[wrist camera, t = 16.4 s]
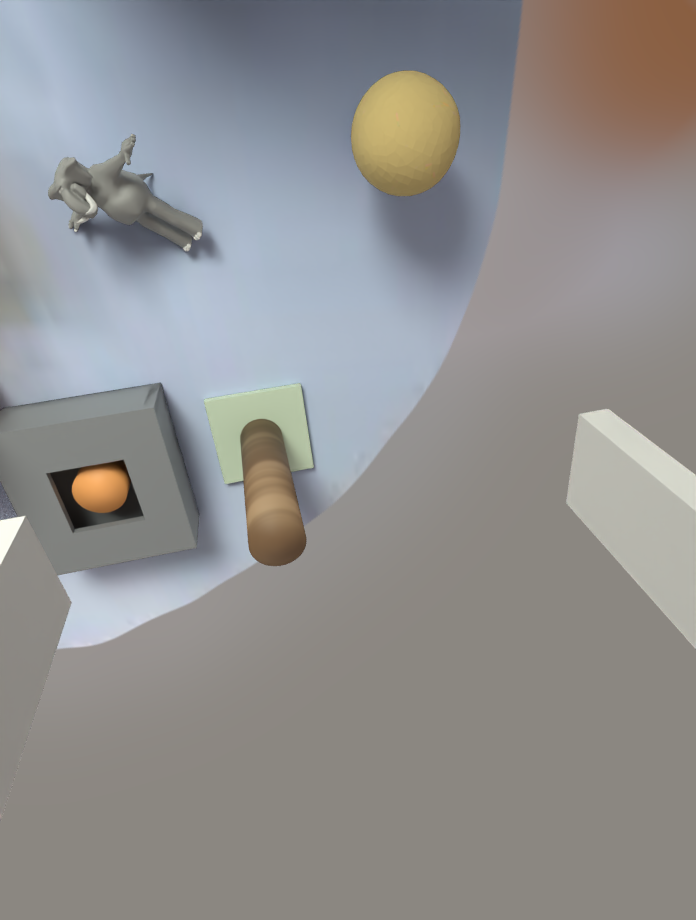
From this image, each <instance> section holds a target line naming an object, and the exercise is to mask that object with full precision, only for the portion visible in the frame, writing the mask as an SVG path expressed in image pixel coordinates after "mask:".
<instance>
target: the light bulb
mask: <svg viewBox="0 0 696 920" xmlns="http://www.w3.org/2000/svg"><path fill="white" fill-rule="evenodd" d="M459 138H460V116H459V112H458V108H457V105H456V103H455V101H454V99H453V97H452V96H451V94H450V93H449V92H448V91H447V89H446V88H445V87H444V86H443V85H442V84H441V83H440V82H438V81H437V80H436V79H434V78H432V77H431V76H429V75H427V74H425V73H421V72H417V71H398V72H394V73H391V74H388V75H386V76H384V77H382V78H381V79H379V80H378V81H377V82H376V83H375V84H373V85H372V86H371V87H370V88H369V90H368V91H367V92H366V93H365V95H364V96H363V97H362V99H361V101H360V103H359V105H358V107H357V109H356V112H355V115H354V118H353V123H352V131H351V143H352V151H353V155H354V159H355V161H356V164H357V166H358V168H359V170H360V171H361V173H362V175H363V176H364V177H365V178H366V179H367V181H368V182H369V183H370V184H372V185H373V186H374V187H376V188H377V189H379V190H380V191H383V192H385V193H387V194H390V195H395V196H412V195H416V194H420V193H422V192H424V191H426V190H429V189H430V188H432V187H433V186H434V185H435V184H437V183H438V182H439V181H440V180H441V179H442V178H443V176H444V175H445V174H446V172H447V171H448V169H449V168H450V166H451V164H452V162H453V160H454V158H455V155H456V151H457V148H458V144H459Z"/></svg>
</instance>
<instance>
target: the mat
mask: <svg viewBox="0 0 696 920" xmlns="http://www.w3.org/2000/svg"><path fill="white" fill-rule="evenodd" d="M204 404H205V408H206V412H207V416H208V420H209V424H210V427H211V431H212V435H213V439H214V443H215V447H216V451H217V455H218V459H219V463H220V467H221V470H222V474H223V478H224V482H225V484H228V483H234V482H239V481H243V469H242V456H241V444H240V434H241V431H242V429H243V428H244V427H245V425H246V424H248V423H249V422H251V421H253V420H256V419H267V420H271V421H273V422H274V423H276V424H277V425H278V426H279V428H280V429H281V432H282V436H283V440H284V444H285V449H286V453H287V457H288V461H289V466H290V470H291V472H293V471H298V470H304V469H309V468H314V466H313V460H312V454H311V447H310V441H309V434H308V428H307V421H306V415H305V409H304V402H303V396H302V389H301V384H300V383H298V384H292V385H286V386H280V387H274V388H268V389H262V390H256V391H250V392H244V393H238V394H232V395H226V396H220V397H214V398H208V399H204Z"/></svg>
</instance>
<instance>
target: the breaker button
mask: <svg viewBox="0 0 696 920" xmlns="http://www.w3.org/2000/svg"><path fill="white" fill-rule="evenodd" d="M130 484H131V479H130V476H129V473H128V470H127V467H126V465H125V462H124V460H119V461H114V462H108V463H102V464H97V465H91V466H85V467H80V469H79V471H78V474H77V476H76V478H75V480H74V482H73V485H72V494H73V497H74V499H75V500H76V502H77V503H78V504H79V505H80V506H82V507H83V508H85V509H87V510H89V511H92V512H97V513H107V512H112V511H114V510H116V509H118V508H120V507H121V506H122V505H123V504H124V502H125V500H126V498H127V494H128V491H129V487H130Z"/></svg>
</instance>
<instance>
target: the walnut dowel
mask: <svg viewBox="0 0 696 920" xmlns="http://www.w3.org/2000/svg"><path fill="white" fill-rule="evenodd" d="M240 444H241V456H242V469H243V482H244V494H245V507H246V519H247V532H248V544H249V550H250V553H251V555H252V556H253V557H254V558H255V559H256V560H257V561H258V562H260V563H262V564H265V565H269V566H281V565H285V564H288V563H290V562H292V561H294V560H295V559H297V558H298V557H299V556H300V555H301V554H302V552H303V550H304V549H305V546H306V535H305V530H304V526H303V522H302V517H301V513H300V509H299V504H298V500H297V496H296V492H295V487H294V483H293V479H292V474H291V470H290V466H289V461H288V457H287V453H286V449H285V444H284V440H283V436H282V432H281V429H280V428H279V426H278V425H277V424H276V423H274V422H273V421H271V420H267V419H256V420H253V421H251V422H249V423H248V424H246V425H245V427H244V428H243V429H242V431H241V434H240Z"/></svg>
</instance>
